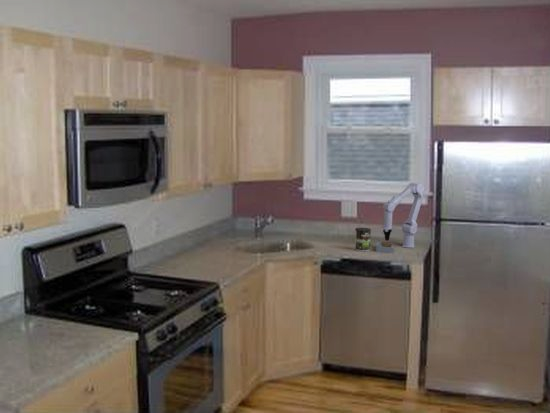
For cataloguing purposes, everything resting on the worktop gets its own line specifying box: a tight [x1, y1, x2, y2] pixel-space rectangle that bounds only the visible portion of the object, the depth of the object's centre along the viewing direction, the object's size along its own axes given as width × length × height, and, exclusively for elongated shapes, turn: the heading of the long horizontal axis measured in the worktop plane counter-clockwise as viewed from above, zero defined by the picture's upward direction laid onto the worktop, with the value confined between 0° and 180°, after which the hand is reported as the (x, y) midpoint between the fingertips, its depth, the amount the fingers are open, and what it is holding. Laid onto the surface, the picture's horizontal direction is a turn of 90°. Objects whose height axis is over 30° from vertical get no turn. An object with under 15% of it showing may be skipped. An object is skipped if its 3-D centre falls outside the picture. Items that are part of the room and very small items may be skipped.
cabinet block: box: [381, 240, 392, 247], centre depth 412 cm, size 4×6×6 cm
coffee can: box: [354, 227, 372, 252], centre depth 415 cm, size 10×10×14 cm
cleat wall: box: [375, 240, 395, 254], centre depth 417 cm, size 18×12×4 cm, turn 164°
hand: (387, 240), depth 420 cm, fingers closed
